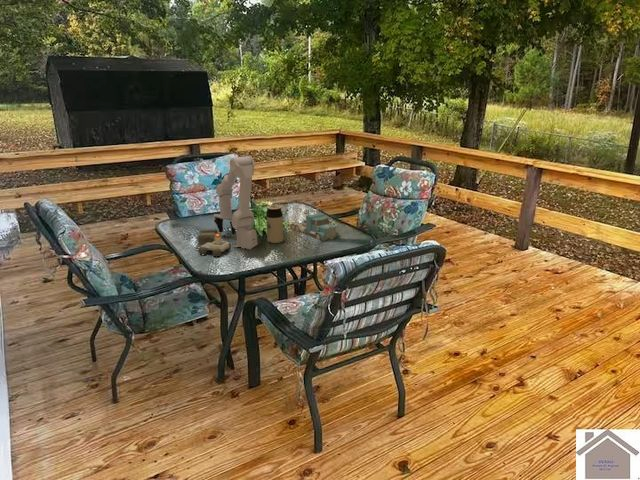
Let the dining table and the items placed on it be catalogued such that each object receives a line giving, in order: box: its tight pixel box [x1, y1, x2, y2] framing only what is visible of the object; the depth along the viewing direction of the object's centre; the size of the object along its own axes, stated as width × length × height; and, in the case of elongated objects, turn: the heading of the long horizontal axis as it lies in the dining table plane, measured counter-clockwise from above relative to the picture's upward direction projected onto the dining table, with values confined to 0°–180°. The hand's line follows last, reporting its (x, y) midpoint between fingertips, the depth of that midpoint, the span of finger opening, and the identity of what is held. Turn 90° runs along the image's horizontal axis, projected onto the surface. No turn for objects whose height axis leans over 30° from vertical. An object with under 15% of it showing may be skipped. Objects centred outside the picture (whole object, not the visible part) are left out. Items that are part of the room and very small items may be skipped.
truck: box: [290, 206, 341, 242], centre depth 249 cm, size 12×29×15 cm, turn 37°
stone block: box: [197, 228, 219, 246], centre depth 237 cm, size 9×14×5 cm, turn 6°
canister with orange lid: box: [214, 232, 223, 246], centre depth 220 cm, size 3×3×6 cm
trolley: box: [194, 240, 232, 257], centre depth 223 cm, size 17×10×5 cm, turn 68°
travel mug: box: [265, 204, 284, 244], centre depth 236 cm, size 8×8×18 cm
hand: (227, 232), depth 244 cm, fingers open, 7 cm apart
